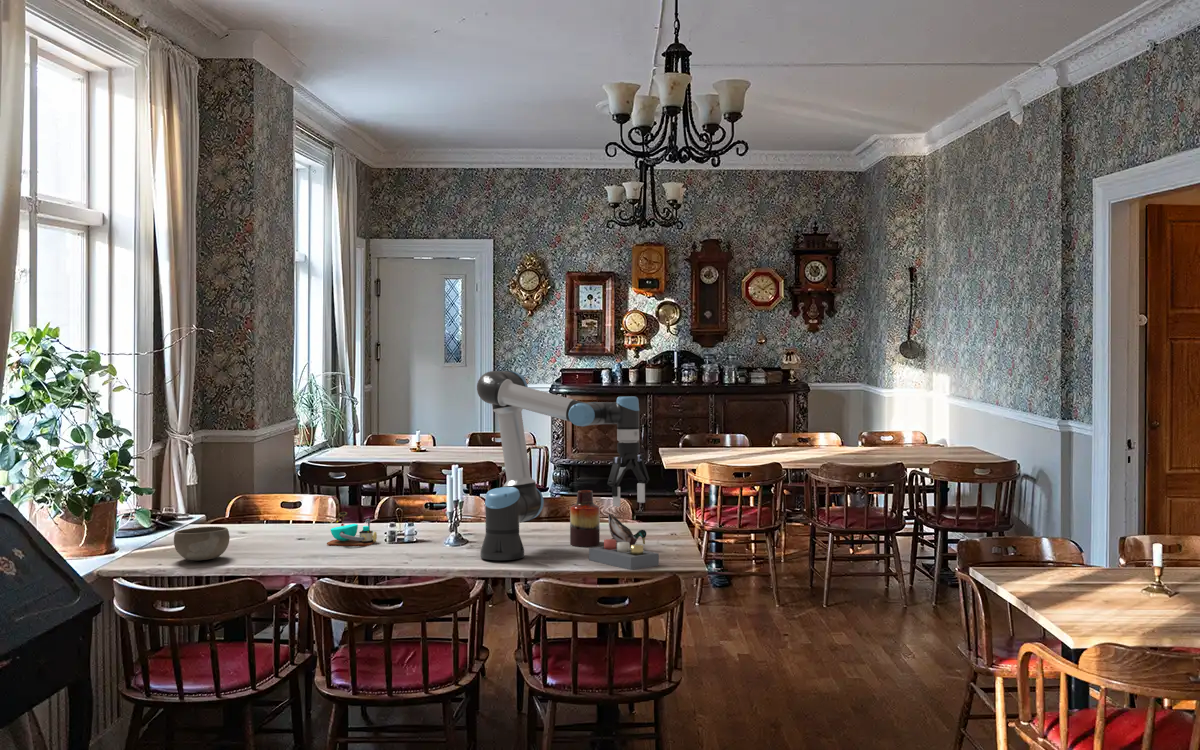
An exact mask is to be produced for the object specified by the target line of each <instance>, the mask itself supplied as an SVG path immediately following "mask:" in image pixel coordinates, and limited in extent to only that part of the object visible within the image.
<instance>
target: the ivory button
mask: <svg viewBox="0 0 1200 750" xmlns="http://www.w3.org/2000/svg"><path fill="white" fill-rule="evenodd" d="M616 543H617V544H616V545H617V552H621V553H625V552H630V543H629V542H616Z"/></svg>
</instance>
